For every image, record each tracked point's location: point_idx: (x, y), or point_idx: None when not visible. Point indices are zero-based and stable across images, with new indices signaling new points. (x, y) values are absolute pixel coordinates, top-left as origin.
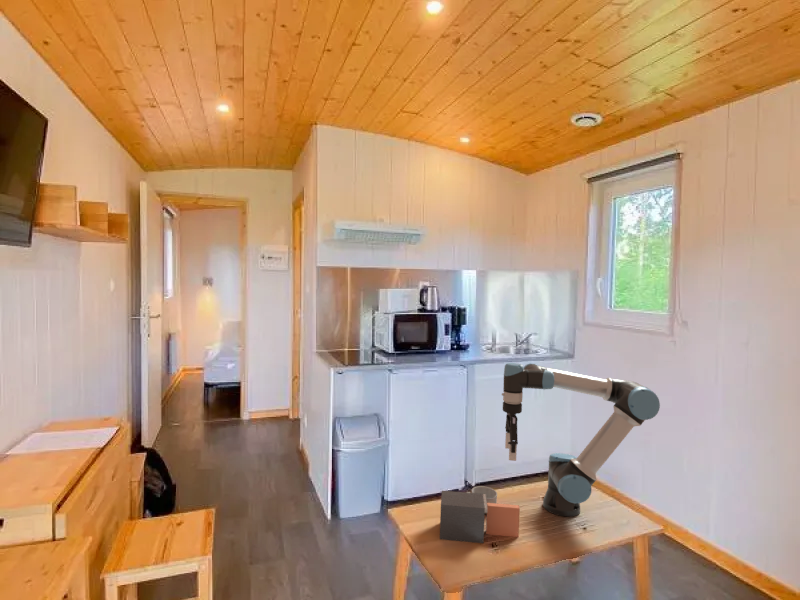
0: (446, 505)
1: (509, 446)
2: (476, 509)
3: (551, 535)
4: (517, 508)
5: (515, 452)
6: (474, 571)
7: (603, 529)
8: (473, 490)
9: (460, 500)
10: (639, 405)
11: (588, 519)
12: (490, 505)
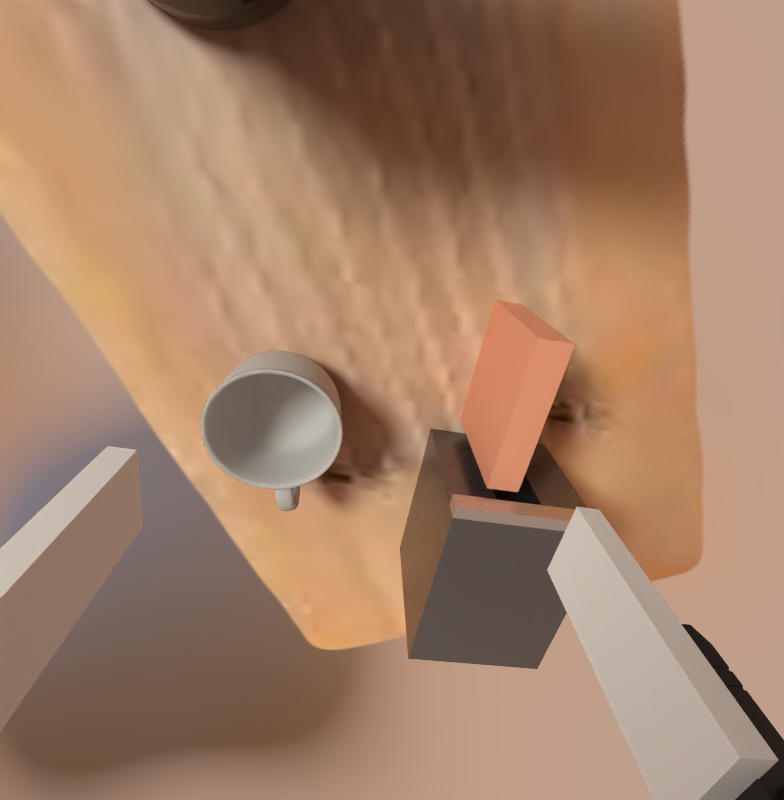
0: (543, 652)
1: (654, 762)
2: None
3: (531, 128)
4: (570, 355)
5: (656, 609)
6: (681, 496)
7: None
8: (246, 473)
9: (512, 609)
10: None
11: None
12: (517, 478)
